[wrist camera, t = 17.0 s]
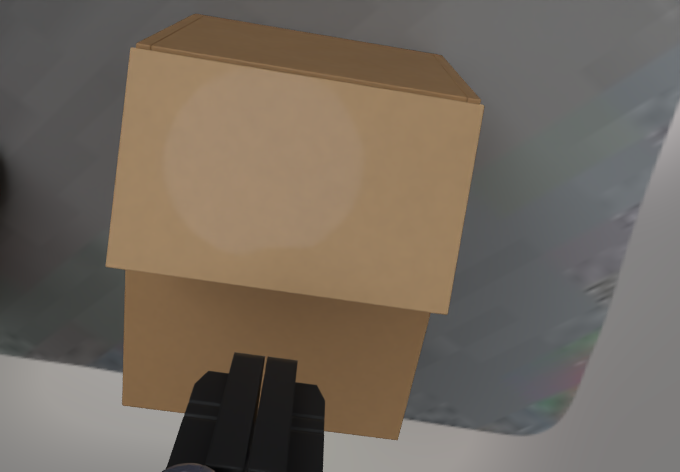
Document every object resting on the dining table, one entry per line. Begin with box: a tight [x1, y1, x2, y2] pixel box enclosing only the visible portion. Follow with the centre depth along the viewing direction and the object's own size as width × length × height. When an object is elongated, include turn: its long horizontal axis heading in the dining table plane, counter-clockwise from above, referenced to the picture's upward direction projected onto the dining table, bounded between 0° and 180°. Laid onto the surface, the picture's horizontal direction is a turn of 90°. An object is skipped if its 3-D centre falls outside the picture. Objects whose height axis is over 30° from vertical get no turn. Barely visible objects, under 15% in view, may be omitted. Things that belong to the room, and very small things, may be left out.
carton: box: [122, 14, 481, 440], centre depth 29 cm, size 15×12×10 cm
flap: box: [106, 47, 484, 315], centre depth 22 cm, size 7×12×1 cm, turn 80°
